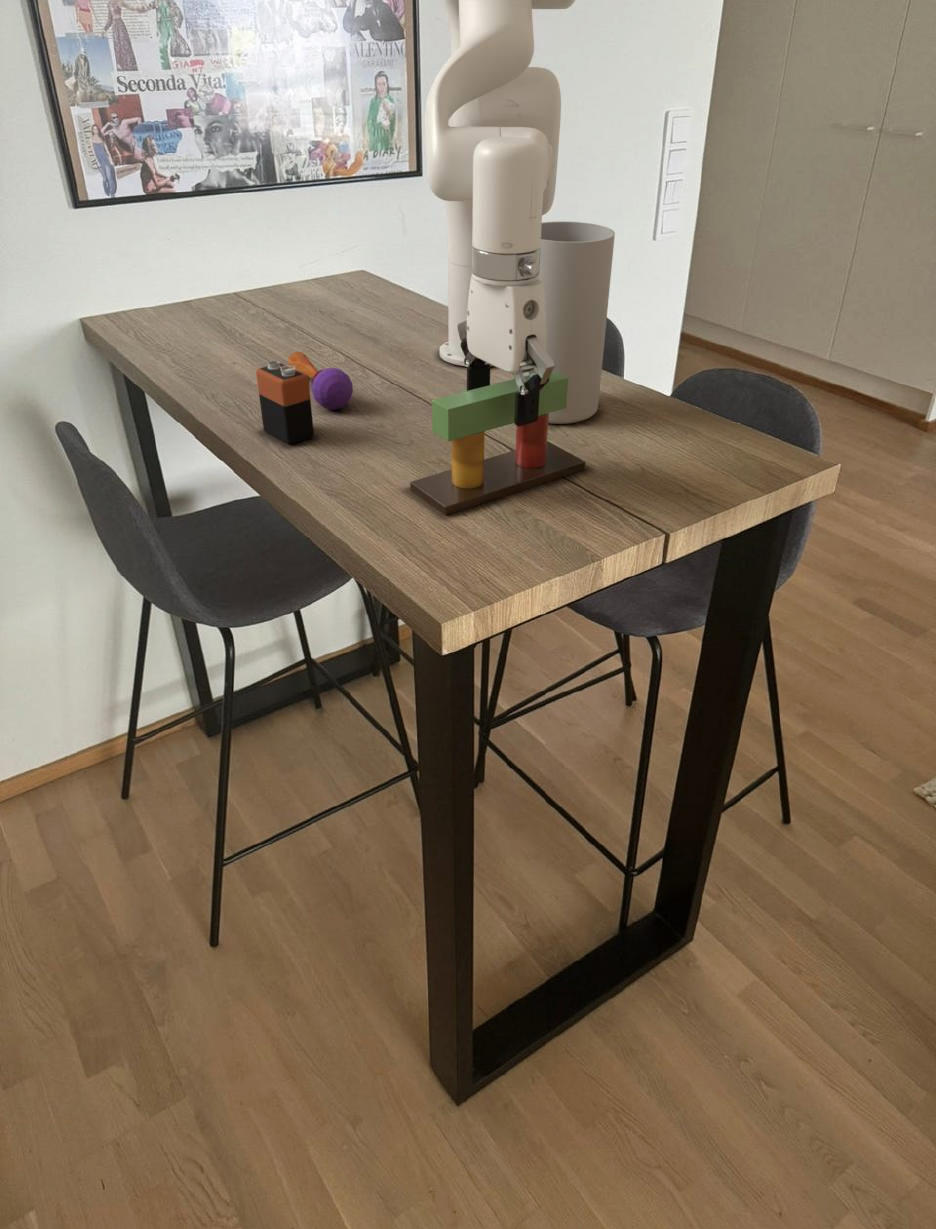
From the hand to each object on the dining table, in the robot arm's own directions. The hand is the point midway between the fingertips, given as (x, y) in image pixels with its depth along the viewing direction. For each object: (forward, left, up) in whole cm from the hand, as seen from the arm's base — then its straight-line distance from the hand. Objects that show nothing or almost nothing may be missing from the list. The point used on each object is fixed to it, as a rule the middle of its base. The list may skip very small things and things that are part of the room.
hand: (501, 410), depth 109 cm
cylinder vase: (-21, -14, -10) cm, 27 cm away
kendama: (+5, -40, -10) cm, 41 cm away
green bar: (0, 0, -1) cm, 1 cm away
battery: (+16, -28, -10) cm, 34 cm away
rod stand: (0, 0, -9) cm, 9 cm away
